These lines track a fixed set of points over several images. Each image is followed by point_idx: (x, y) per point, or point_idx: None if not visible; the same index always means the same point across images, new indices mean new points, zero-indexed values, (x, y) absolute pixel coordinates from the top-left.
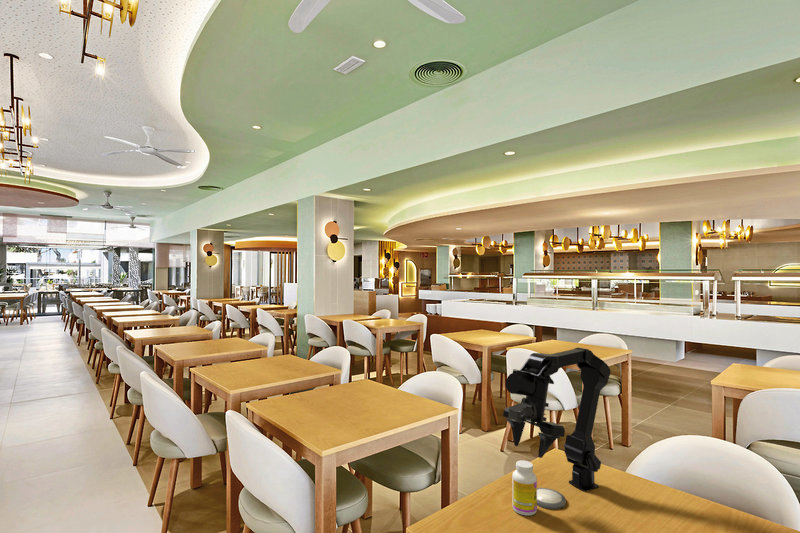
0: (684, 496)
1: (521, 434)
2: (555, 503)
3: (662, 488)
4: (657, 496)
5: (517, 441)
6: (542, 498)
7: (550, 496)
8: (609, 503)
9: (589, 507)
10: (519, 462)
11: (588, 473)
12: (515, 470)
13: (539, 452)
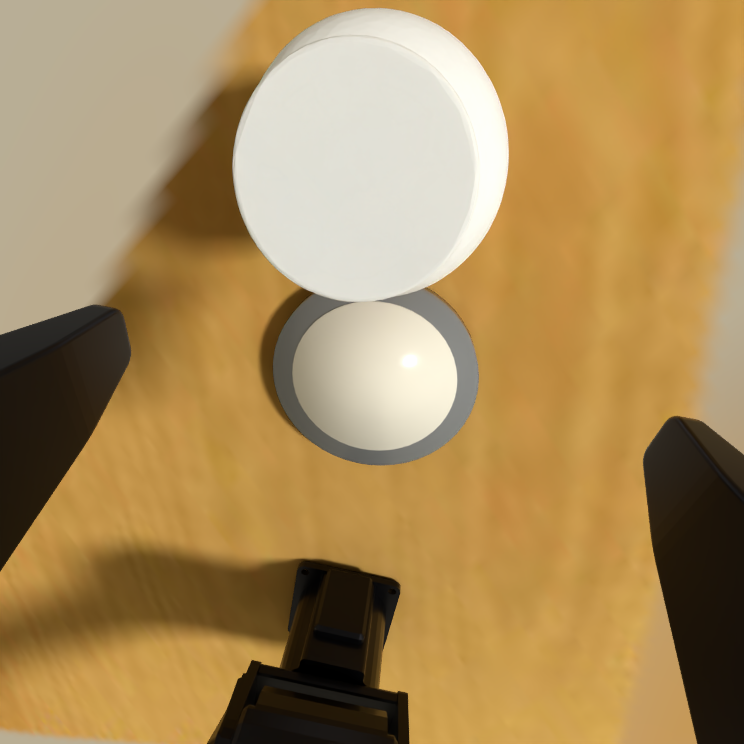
0: (94, 727)
1: (698, 708)
2: (298, 345)
3: (160, 735)
4: (133, 684)
5: (683, 504)
6: (374, 334)
7: (358, 389)
8: (186, 542)
9: (208, 457)
10: (430, 163)
11: (285, 656)
12: (483, 141)
13: (37, 340)
